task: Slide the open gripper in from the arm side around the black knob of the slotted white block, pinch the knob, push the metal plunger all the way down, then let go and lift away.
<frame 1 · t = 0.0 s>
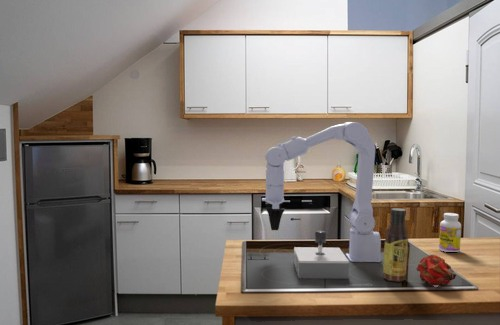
hand: (274, 227, 149), 10 cm above the counter, tool pointing down, fingers open, 7 cm apart
supplement bottle: (449, 251, 161), on the counter
slotted white block: (319, 270, 139), on the counter
plunger: (320, 245, 138), point 8 cm above the counter, slide at 0.0 cm
sauce bottle: (394, 279, 132), on the counter
dragon fruit: (435, 285, 128), on the counter
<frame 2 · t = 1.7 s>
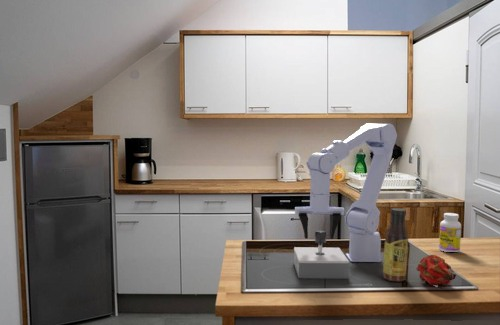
hand: (318, 238, 141), 9 cm above the counter, tool pointing down, fingers open, 7 cm apart
nothing on the counter moved.
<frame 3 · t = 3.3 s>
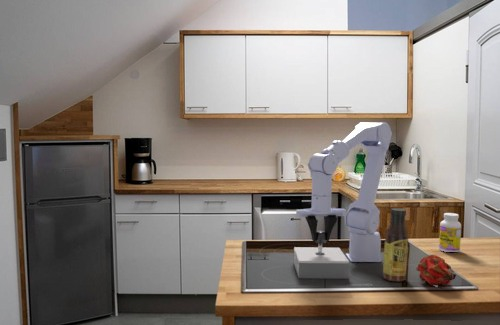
hand: (320, 240, 138), 9 cm above the counter, tool pointing down, fingers closed on plunger, 3 cm apart
plunger: (320, 245, 138), point 8 cm above the counter, slide at 0.0 cm, touching gripper
everything else where it was.
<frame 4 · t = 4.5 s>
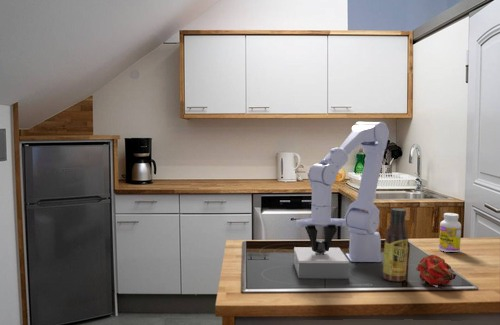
hand: (320, 250, 138), 6 cm above the counter, tool pointing down, fingers closed on plunger, 3 cm apart
plunger: (320, 254, 138), point 5 cm above the counter, slide at 2.9 cm, touching gripper
everything else where it was.
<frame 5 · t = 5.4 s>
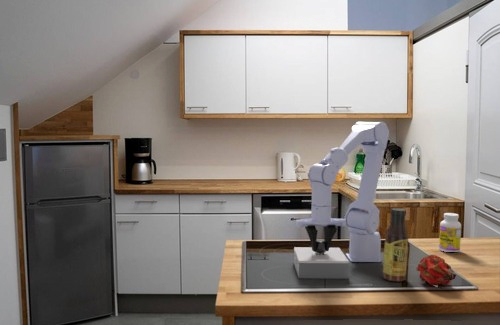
hand: (320, 250, 138), 6 cm above the counter, tool pointing down, fingers closed on plunger, 3 cm apart
plunger: (320, 254, 138), point 5 cm above the counter, slide at 2.9 cm, touching gripper
everything else where it was.
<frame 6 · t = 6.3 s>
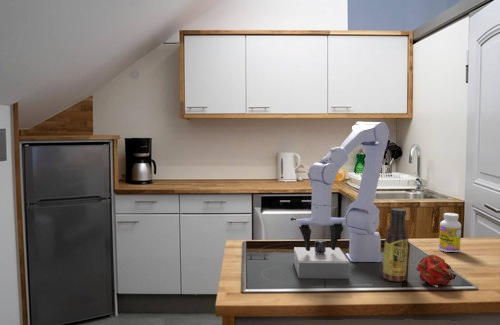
hand: (320, 249, 138), 6 cm above the counter, tool pointing down, fingers open, 7 cm apart
plunger: (320, 254, 138), point 5 cm above the counter, slide at 2.9 cm
everything else where it was.
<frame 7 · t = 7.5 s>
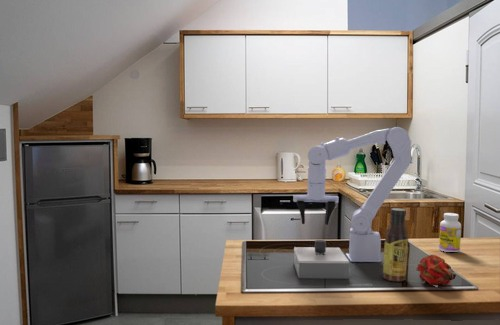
hand: (314, 223, 154), 10 cm above the counter, tool pointing down, fingers open, 7 cm apart
nothing on the counter moved.
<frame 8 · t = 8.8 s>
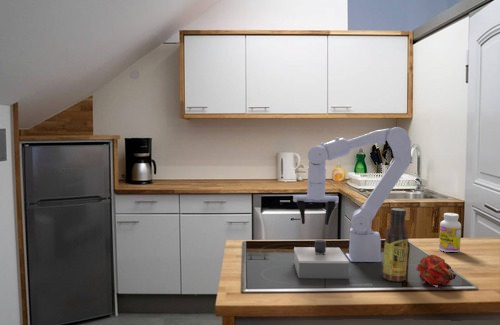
hand: (314, 223, 154), 10 cm above the counter, tool pointing down, fingers open, 7 cm apart
nothing on the counter moved.
at the end: plunger slide at 2.9 cm; the gripper is holding nothing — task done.
